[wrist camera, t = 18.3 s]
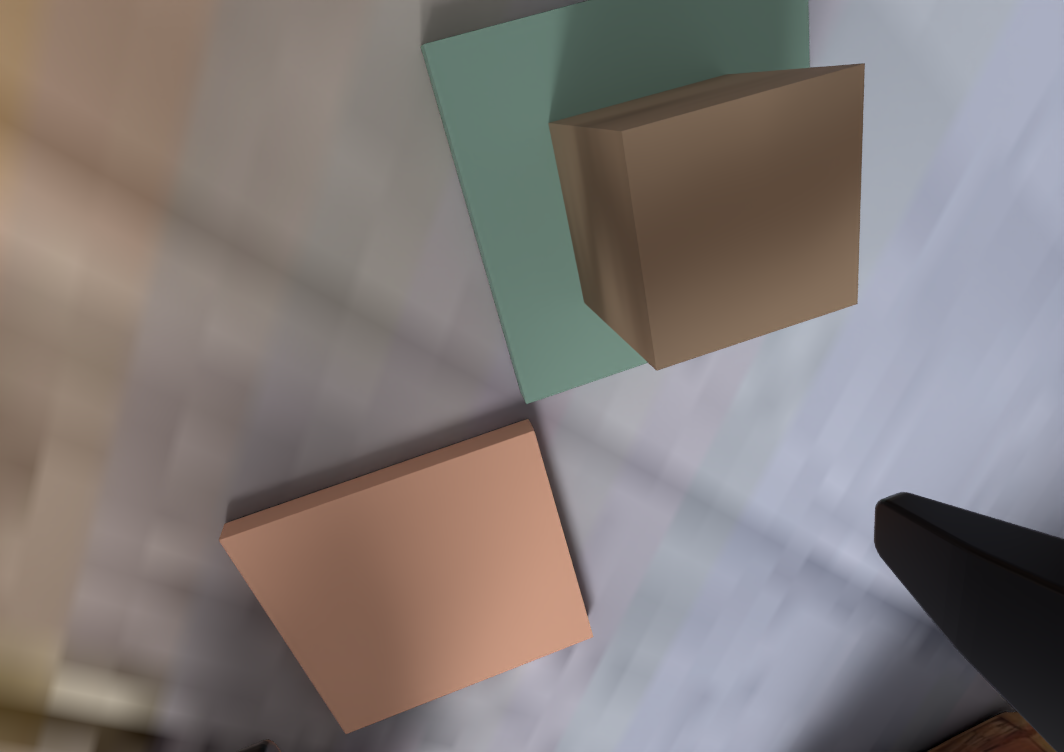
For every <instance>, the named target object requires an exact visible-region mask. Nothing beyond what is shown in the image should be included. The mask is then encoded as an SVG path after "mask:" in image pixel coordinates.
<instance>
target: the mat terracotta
mask: <svg viewBox="0 0 1064 752" xmlns="http://www.w3.org/2000/svg"><path fill="white" fill-rule="evenodd" d="M219 541H220V543H221V544H222V546H223V547H224V549H225V551H226V552H227V554H228V555H229V557H230V558H231V560H232V561H233V563H234V564H235V566H236V567H237V569H238V570H239V572H240V573H241V575H242V576H243V578H244V580H245V581H246V583H247V584H248V586H249V587H250V589H251V590H252V592H253V593H254V595H255V596H256V598H257V599H258V601H259V602H260V604H261V605H262V607H263V609H264V610H265V612H266V613H267V615H268V616H269V618H270V619H271V621H272V622H273V624H274V625H275V627H276V628H277V630H278V631H279V633H280V634H281V636H282V638H283V639H284V641H285V642H286V644H287V645H288V647H289V648H290V650H291V651H292V653H293V654H294V656H295V657H296V659H297V660H298V662H299V664H300V665H301V667H302V668H303V670H304V671H305V673H306V674H307V676H308V677H309V679H310V680H311V682H312V683H313V685H314V686H315V688H316V689H317V691H318V693H319V694H320V696H321V697H322V699H323V700H324V702H325V703H326V705H327V706H328V708H329V709H330V711H331V712H332V714H333V715H334V717H335V718H336V720H337V722H338V723H339V725H340V726H341V728H342V729H343V731H344V732H345V734H348V733H351V732H353V731H356V730H358V729H361V728H363V727H366V726H368V725H371V724H374V723H376V722H379V721H381V720H384V719H386V718H389V717H391V716H394V715H396V714H399V713H401V712H404V711H407V710H409V709H412V708H414V707H417V706H419V705H422V704H424V703H427V702H429V701H432V700H434V699H437V698H439V697H442V696H445V695H447V694H450V693H452V692H455V691H457V690H460V689H462V688H465V687H467V686H470V685H472V684H475V683H478V682H480V681H483V680H485V679H488V678H490V677H493V676H495V675H498V674H500V673H503V672H505V671H508V670H511V669H513V668H516V667H518V666H521V665H523V664H526V663H528V662H531V661H533V660H536V659H538V658H541V657H544V656H546V655H549V654H551V653H554V652H556V651H559V650H561V649H564V648H566V647H569V646H571V645H574V644H577V643H579V642H582V641H584V640H587V639H589V638H592V637H593V634H592V630H591V627H590V623H589V620H588V616H587V613H586V610H585V606H584V603H583V599H582V596H581V592H580V589H579V585H578V582H577V578H576V575H575V571H574V568H573V564H572V561H571V557H570V554H569V550H568V547H567V543H566V540H565V536H564V533H563V529H562V526H561V522H560V519H559V515H558V512H557V508H556V505H555V501H554V498H553V494H552V491H551V487H550V484H549V480H548V477H547V474H546V470H545V467H544V463H543V460H542V456H541V453H540V449H539V446H538V442H537V439H536V435H535V432H534V429H533V427H532V425H531V423H530V421H529V419H526V420H523V421H520V422H517V423H514V424H511V425H508V426H505V427H503V428H500V429H497V430H494V431H491V432H488V433H485V434H482V435H479V436H477V437H474V438H471V439H468V440H465V441H462V442H459V443H456V444H453V445H451V446H448V447H445V448H442V449H439V450H436V451H433V452H430V453H427V454H425V455H422V456H419V457H416V458H413V459H410V460H407V461H404V462H401V463H398V464H396V465H393V466H390V467H387V468H384V469H381V470H378V471H375V472H372V473H370V474H367V475H364V476H361V477H358V478H355V479H352V480H349V481H346V482H344V483H341V484H338V485H335V486H332V487H329V488H326V489H323V490H320V491H317V492H315V493H312V494H309V495H306V496H303V497H300V498H297V499H294V500H291V501H289V502H286V503H283V504H280V505H277V506H274V507H271V508H268V509H265V510H263V511H260V512H257V513H254V514H251V515H248V516H245V517H242V518H239V519H237V520H234V521H231V522H228V523H225V524H224V527H223V530H222V533H221V536H220V538H219Z"/></svg>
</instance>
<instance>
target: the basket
mask: <svg viewBox="0 0 1064 752" xmlns="http://www.w3.org/2000/svg"><path fill="white" fill-rule="evenodd" d="M927 752H1056V751H1055V750H1054V749H1053V748H1052V747H1051V746H1050V745H1049V744H1048V743H1047V742H1046V741H1045V739H1044V738H1043V737H1042V736H1041V735H1040V734H1039V733H1038V732H1037V731H1036V730H1035V729H1034V728H1033V727H1032V726H1031V725H1030V724H1029V723H1028V722H1027V721H1026V720H1025V719H1024V718H1023V717H1022V716H1021V715H1020V714H1019V713H1018V712H1017V711H1016V712H1004V713H1001V714H999V715H997V716H994V717H992V718H990V719H988V720H986V721H984V722H982V723H980V724H979V725H977V726H975V727H973V728H971V729H969V730H967V731H965V732H963V733H961V734H959V735H957V736H955V737H953V738H951V739H949V740H947V741H945V742H943V743H942V744H940V745H938V746H936V747H934V748H932V749H930V750H928V751H927Z"/></svg>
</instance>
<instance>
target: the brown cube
mask: <svg viewBox="0 0 1064 752" xmlns="http://www.w3.org/2000/svg"><path fill="white" fill-rule="evenodd" d="M864 69H865V63H864V64H851V65H839V66H826V67H814V68H801V69H788V70H776V71H763V72H751V73H738V74H726V75H722V76H718V77H715V78H711V79H707V80H704V81H700V82H696V83H693V84H689V85H686V86H682V87H678V88H675V89H671V90H667V91H664V92H660V93H656V94H653V95H649V96H645V97H642V98H638V99H634V100H631V101H627V102H623V103H620V104H616V105H612V106H609V107H605V108H601V109H598V110H594V111H590V112H587V113H583V114H579V115H576V116H572V117H568V118H565V119H561V120H557V121H554V122H550V123H548V124H549V129H550V134H551V139H552V144H553V149H554V154H555V159H556V164H557V169H558V174H559V179H560V184H561V189H562V194H563V199H564V204H565V209H566V215H567V220H568V225H569V230H570V235H571V240H572V245H573V250H574V255H575V260H576V265H577V270H578V275H579V280H580V285H581V290H582V295H583V300H584V303H585V304H586V305H587V306H588V307H589V308H590V309H591V310H592V311H593V312H595V313H596V314H597V315H598V316H599V317H600V318H601V319H602V320H603V321H604V322H605V323H606V324H607V325H608V326H610V327H611V328H612V329H613V330H614V331H615V332H616V333H617V334H618V335H619V336H620V337H621V338H622V339H623V340H624V341H626V342H627V343H628V344H629V345H630V346H631V347H632V348H633V349H634V350H635V351H636V352H637V353H638V354H639V355H641V356H642V357H643V358H644V359H645V360H646V361H647V362H648V363H649V364H650V365H651V366H652V367H653V368H654V369H655V370H660V369H663V368H666V367H669V366H672V365H675V364H678V363H681V362H684V361H687V360H690V359H693V358H696V357H699V356H702V355H705V354H708V353H711V352H714V351H717V350H720V349H723V348H726V347H729V346H732V345H735V344H738V343H741V342H744V341H747V340H750V339H753V338H756V337H759V336H762V335H765V334H768V333H771V332H774V331H777V330H780V329H783V328H786V327H789V326H792V325H795V324H798V323H801V322H804V321H807V320H810V319H813V318H816V317H819V316H822V315H825V314H828V313H831V312H834V311H837V310H840V309H843V308H846V307H849V306H852V305H855V304H857V299H858V266H859V233H860V200H861V167H862V134H863V102H864Z"/></svg>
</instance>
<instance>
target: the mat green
mask: <svg viewBox="0 0 1064 752" xmlns="http://www.w3.org/2000/svg"><path fill="white" fill-rule="evenodd" d="M421 50H422V53H423V56H424V60H425V63H426V67H427V70H428V74H429V77H430V81H431V84H432V88H433V91H434V94H435V98H436V101H437V105H438V108H439V112H440V115H441V119H442V122H443V126H444V129H445V133H446V136H447V139H448V143H449V146H450V150H451V153H452V157H453V160H454V164H455V167H456V171H457V174H458V177H459V181H460V184H461V188H462V191H463V195H464V198H465V202H466V205H467V209H468V212H469V216H470V219H471V222H472V226H473V229H474V233H475V236H476V240H477V243H478V247H479V250H480V254H481V257H482V260H483V264H484V267H485V271H486V274H487V278H488V281H489V285H490V288H491V292H492V295H493V299H494V302H495V305H496V309H497V312H498V316H499V319H500V323H501V326H502V330H503V333H504V337H505V340H506V343H507V347H508V350H509V354H510V357H511V361H512V364H513V368H514V371H515V375H516V378H517V382H518V385H519V388H520V392H521V394H522V396H523V398H524V400H525V402H526V404H529V403H531V402H534V401H537V400H540V399H543V398H546V397H549V396H552V395H555V394H558V393H561V392H564V391H566V390H569V389H572V388H575V387H578V386H581V385H584V384H587V383H590V382H593V381H596V380H599V379H601V378H604V377H607V376H610V375H613V374H616V373H619V372H622V371H625V370H628V369H631V368H634V367H637V366H639V365H642V364H645V363H648V362H647V361H646V360H645V359H644V358H643V357H642V356H641V355H639V354H638V353H637V352H636V351H635V350H634V349H633V348H632V347H631V346H630V345H629V344H628V343H627V342H626V341H624V340H623V339H622V338H621V337H620V336H619V335H618V334H617V333H616V332H615V331H614V330H613V329H612V328H611V327H610V326H608V325H607V324H606V323H605V322H604V321H603V320H602V319H601V318H600V317H599V316H598V315H597V314H596V313H595V312H593V311H592V310H591V309H590V308H589V307H588V306H587V305H586V304H585V303H584V300H583V295H582V290H581V285H580V280H579V275H578V270H577V265H576V260H575V255H574V250H573V245H572V240H571V235H570V230H569V225H568V220H567V215H566V209H565V204H564V199H563V194H562V189H561V184H560V179H559V174H558V169H557V164H556V159H555V154H554V149H553V144H552V139H551V134H550V129H549V124H548V123H550V122H554V121H557V120H561V119H565V118H568V117H572V116H576V115H579V114H583V113H587V112H590V111H594V110H598V109H601V108H605V107H609V106H612V105H616V104H620V103H623V102H627V101H631V100H634V99H638V98H642V97H645V96H649V95H653V94H656V93H660V92H664V91H667V90H671V89H675V88H678V87H682V86H686V85H689V84H693V83H696V82H700V81H704V80H707V79H711V78H715V77H718V76H722V75H726V74H738V73H751V72H763V71H776V70H788V69H801V68H810V65H809V11H808V0H588V1H584V2H580V3H577V4H573V5H569V6H565V7H562V8H558V9H554V10H550V11H547V12H543V13H539V14H535V15H532V16H528V17H524V18H520V19H516V20H513V21H509V22H505V23H501V24H498V25H494V26H490V27H486V28H483V29H479V30H475V31H471V32H468V33H464V34H460V35H456V36H453V37H449V38H445V39H441V40H438V41H434V42H430V43H426V44H423V45H422V46H421Z"/></svg>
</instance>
